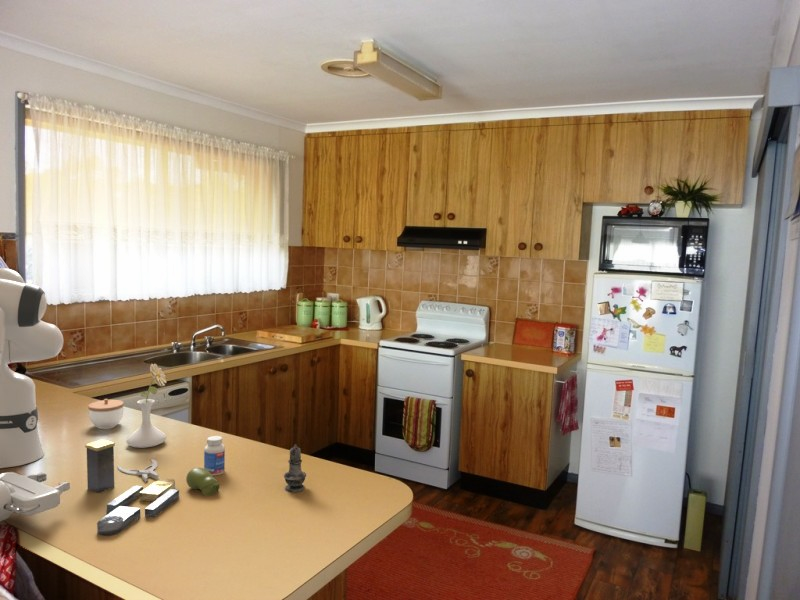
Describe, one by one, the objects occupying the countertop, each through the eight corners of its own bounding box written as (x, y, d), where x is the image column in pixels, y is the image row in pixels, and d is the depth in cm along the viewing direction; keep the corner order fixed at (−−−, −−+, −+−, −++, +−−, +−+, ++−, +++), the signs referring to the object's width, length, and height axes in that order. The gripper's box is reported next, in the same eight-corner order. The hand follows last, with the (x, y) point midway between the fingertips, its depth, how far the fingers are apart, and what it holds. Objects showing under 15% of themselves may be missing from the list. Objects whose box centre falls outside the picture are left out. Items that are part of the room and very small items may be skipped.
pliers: (153, 455, 170) (170, 472, 159) (153, 460, 170) (170, 477, 159) (116, 463, 164) (132, 480, 152) (116, 468, 164) (132, 486, 152)
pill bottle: (218, 477, 159) (218, 442, 158) (200, 475, 160) (200, 440, 159) (228, 469, 164) (228, 435, 163) (210, 467, 165) (210, 434, 164)
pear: (200, 461, 155) (226, 477, 150) (198, 480, 156) (223, 495, 151) (182, 468, 150) (208, 484, 145) (180, 487, 151) (205, 503, 146)
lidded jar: (130, 425, 200) (130, 398, 199) (100, 433, 191) (99, 405, 190) (112, 419, 205) (111, 393, 204) (82, 427, 196) (81, 399, 195)
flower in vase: (148, 453, 175) (146, 371, 172) (117, 448, 178) (116, 367, 176) (177, 439, 187) (177, 362, 184) (148, 434, 191) (147, 359, 188)
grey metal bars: (135, 493, 148) (135, 485, 148) (178, 497, 146) (178, 489, 146) (78, 532, 128) (77, 523, 127) (128, 538, 126) (127, 529, 126)
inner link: (161, 484, 153) (161, 477, 153) (178, 486, 152) (178, 479, 152) (139, 500, 144) (139, 492, 144) (158, 502, 143) (158, 494, 143)
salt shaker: (310, 485, 155) (310, 441, 154) (299, 494, 150) (299, 449, 149) (290, 482, 157) (291, 438, 156) (279, 490, 152) (279, 446, 150)
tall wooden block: (98, 493, 147) (97, 448, 146) (86, 489, 149) (85, 444, 148) (115, 486, 151) (114, 442, 150) (103, 482, 153) (102, 439, 152)
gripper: (19, 500, 122) (82, 477, 134) (-32, 478, 132) (31, 458, 144) (20, 528, 123) (83, 503, 135) (-31, 504, 133) (32, 483, 145)
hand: (56, 480), depth 140 cm, fingers open, 8 cm apart
